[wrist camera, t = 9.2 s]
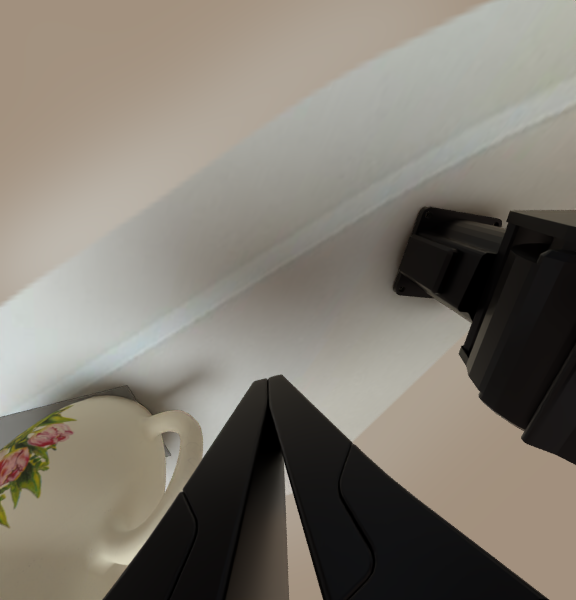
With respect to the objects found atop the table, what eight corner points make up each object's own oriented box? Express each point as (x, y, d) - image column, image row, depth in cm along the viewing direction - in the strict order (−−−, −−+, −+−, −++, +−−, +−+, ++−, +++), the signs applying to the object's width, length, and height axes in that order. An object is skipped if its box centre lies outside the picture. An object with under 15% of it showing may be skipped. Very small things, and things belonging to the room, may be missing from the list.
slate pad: (131, 377, 22) (126, 386, 21) (173, 445, 26) (170, 455, 25) (-20, 415, 21) (-31, 425, 21) (47, 479, 25) (40, 490, 25)
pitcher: (249, 407, 24) (255, 653, 12) (90, 493, 26) (-47, 785, 14) (164, 319, 19) (27, 584, 7) (-25, 433, 21) (-402, 805, 9)
